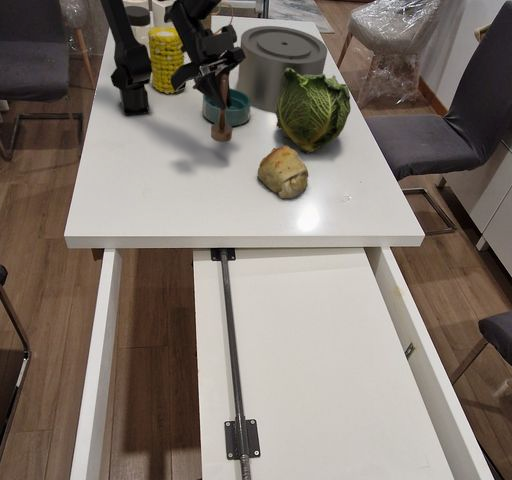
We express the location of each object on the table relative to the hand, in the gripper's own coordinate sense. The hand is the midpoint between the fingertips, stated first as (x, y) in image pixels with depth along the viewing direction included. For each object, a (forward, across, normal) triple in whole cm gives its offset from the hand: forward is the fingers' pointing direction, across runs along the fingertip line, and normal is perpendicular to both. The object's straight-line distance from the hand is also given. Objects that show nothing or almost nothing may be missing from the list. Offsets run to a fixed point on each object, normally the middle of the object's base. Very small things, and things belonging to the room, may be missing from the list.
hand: (227, 108), depth 95 cm
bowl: (-2, +18, +21) cm, 27 cm away
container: (-1, +41, +21) cm, 46 cm away
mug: (-28, +49, +48) cm, 74 cm away
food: (-17, +16, +36) cm, 43 cm away
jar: (-31, +23, +51) cm, 64 cm away
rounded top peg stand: (+4, 0, +6) cm, 7 cm away
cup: (-27, +30, +47) cm, 62 cm away
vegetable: (+14, +26, +5) cm, 30 cm away
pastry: (+20, +5, -1) cm, 21 cm away
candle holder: (-38, +30, +58) cm, 75 cm away
